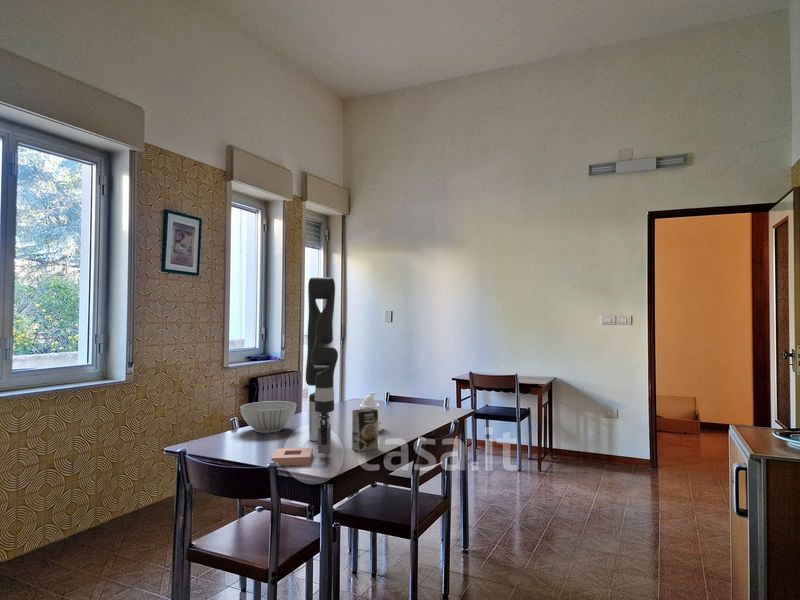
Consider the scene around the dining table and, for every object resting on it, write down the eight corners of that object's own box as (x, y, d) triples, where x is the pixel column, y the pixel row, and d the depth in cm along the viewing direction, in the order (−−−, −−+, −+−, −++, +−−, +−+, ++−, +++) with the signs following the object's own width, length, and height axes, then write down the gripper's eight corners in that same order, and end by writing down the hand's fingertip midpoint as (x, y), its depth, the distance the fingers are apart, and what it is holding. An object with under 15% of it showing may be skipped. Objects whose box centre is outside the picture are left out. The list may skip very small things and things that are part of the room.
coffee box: (359, 452, 208) (359, 412, 208) (351, 449, 213) (351, 409, 214) (378, 448, 213) (378, 409, 214) (370, 445, 218) (370, 407, 219)
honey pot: (384, 426, 257) (383, 390, 258) (380, 432, 244) (380, 394, 245) (358, 426, 258) (358, 390, 259) (354, 431, 245) (353, 394, 246)
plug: (319, 450, 202) (318, 424, 202) (330, 449, 203) (330, 424, 203) (318, 453, 198) (318, 427, 198) (330, 452, 198) (330, 426, 198)
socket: (276, 456, 203) (276, 448, 203) (312, 455, 204) (312, 447, 204) (271, 466, 189) (271, 458, 189) (309, 465, 190) (309, 456, 190)
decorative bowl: (269, 439, 232) (269, 412, 233) (227, 433, 245) (227, 407, 246) (307, 427, 256) (307, 403, 256) (267, 422, 269) (267, 399, 269)
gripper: (316, 396, 207) (316, 438, 207) (313, 402, 193) (313, 448, 193) (334, 395, 208) (334, 438, 208) (333, 401, 194) (333, 447, 193)
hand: (324, 442), depth 200 cm, fingers closed on plug, 4 cm apart
